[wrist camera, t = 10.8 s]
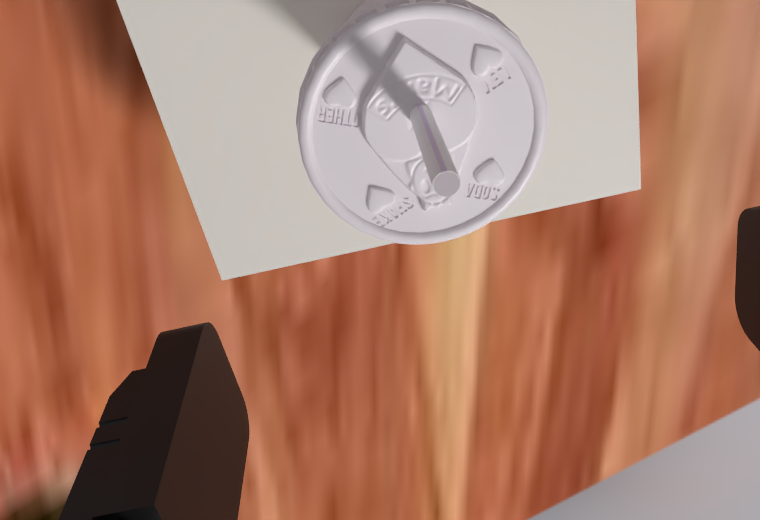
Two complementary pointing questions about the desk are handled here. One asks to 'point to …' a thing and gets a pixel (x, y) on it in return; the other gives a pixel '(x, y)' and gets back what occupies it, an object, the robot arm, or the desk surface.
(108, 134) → the desk surface
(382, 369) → the desk surface
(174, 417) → the robot arm
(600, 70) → the footstool
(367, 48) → the smoothie
